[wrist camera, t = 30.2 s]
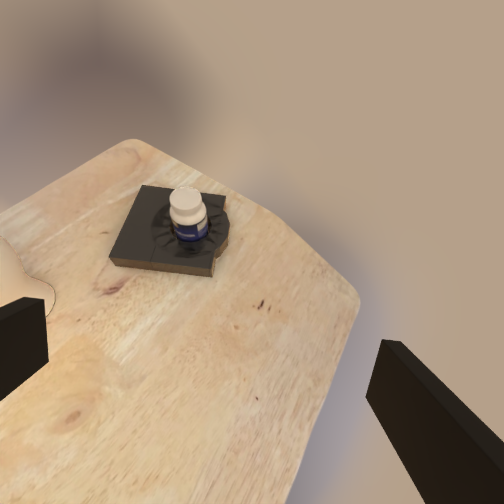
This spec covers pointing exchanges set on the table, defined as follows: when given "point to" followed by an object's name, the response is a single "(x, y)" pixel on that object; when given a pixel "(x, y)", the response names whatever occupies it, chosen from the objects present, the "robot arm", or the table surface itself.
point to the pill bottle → (188, 214)
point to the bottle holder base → (169, 236)
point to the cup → (20, 280)
